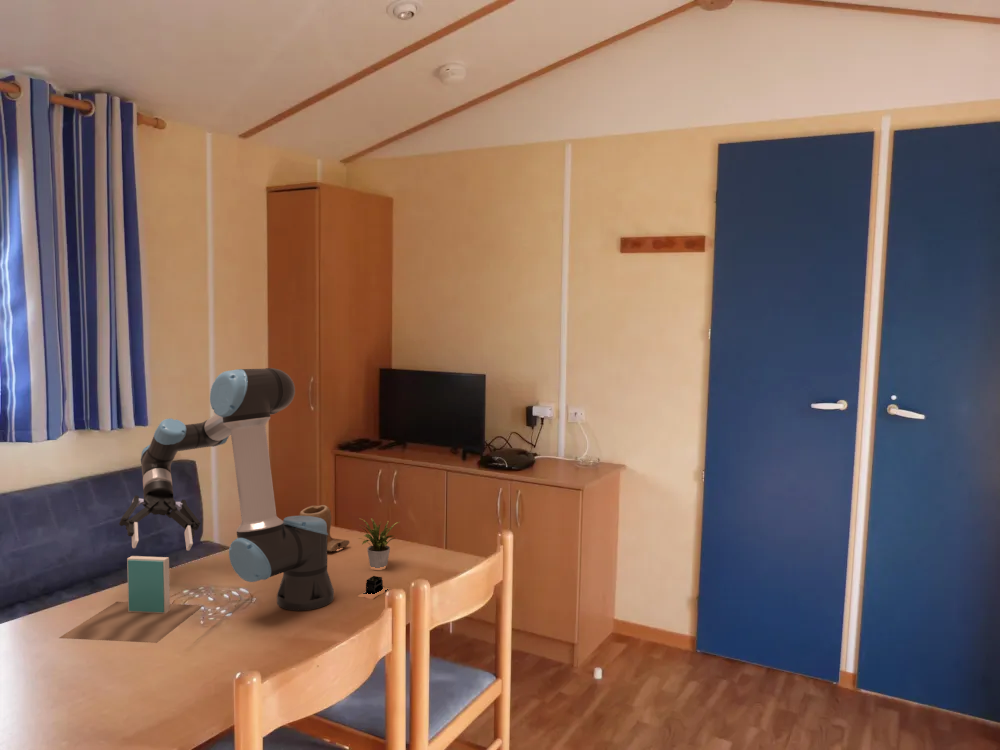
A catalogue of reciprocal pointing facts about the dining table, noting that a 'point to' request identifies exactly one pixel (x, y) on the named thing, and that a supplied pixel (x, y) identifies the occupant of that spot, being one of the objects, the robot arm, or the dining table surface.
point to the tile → (148, 584)
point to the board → (131, 624)
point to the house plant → (378, 545)
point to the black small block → (374, 585)
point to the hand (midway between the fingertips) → (163, 546)
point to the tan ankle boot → (325, 514)
